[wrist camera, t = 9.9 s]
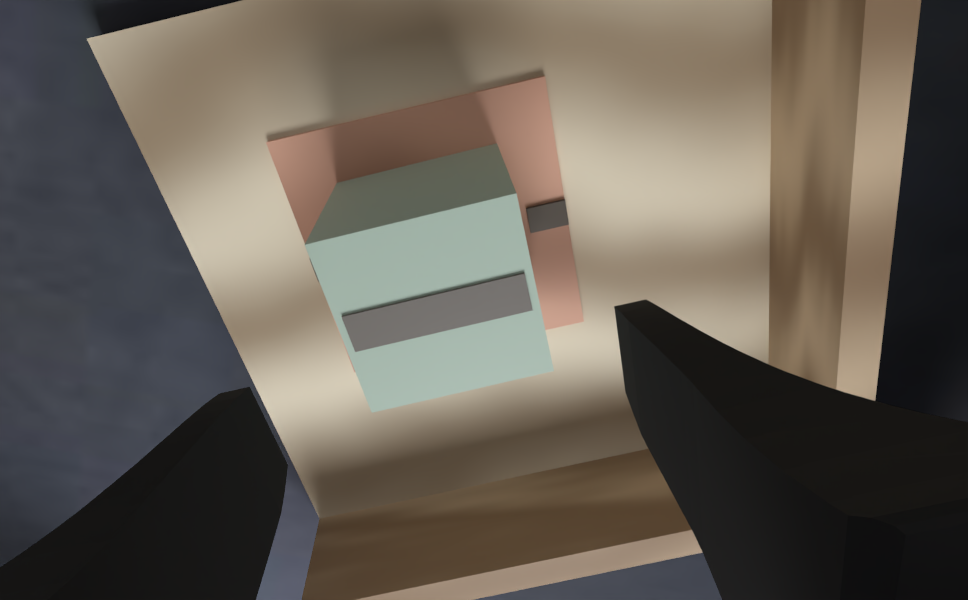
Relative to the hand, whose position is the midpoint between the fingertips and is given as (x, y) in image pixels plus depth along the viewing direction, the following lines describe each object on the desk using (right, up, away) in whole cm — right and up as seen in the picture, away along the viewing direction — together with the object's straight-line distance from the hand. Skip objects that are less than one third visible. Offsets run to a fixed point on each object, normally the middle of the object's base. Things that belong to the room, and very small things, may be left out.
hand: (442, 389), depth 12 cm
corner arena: (+2, +3, +9) cm, 9 cm away
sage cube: (-1, +4, +7) cm, 8 cm away
